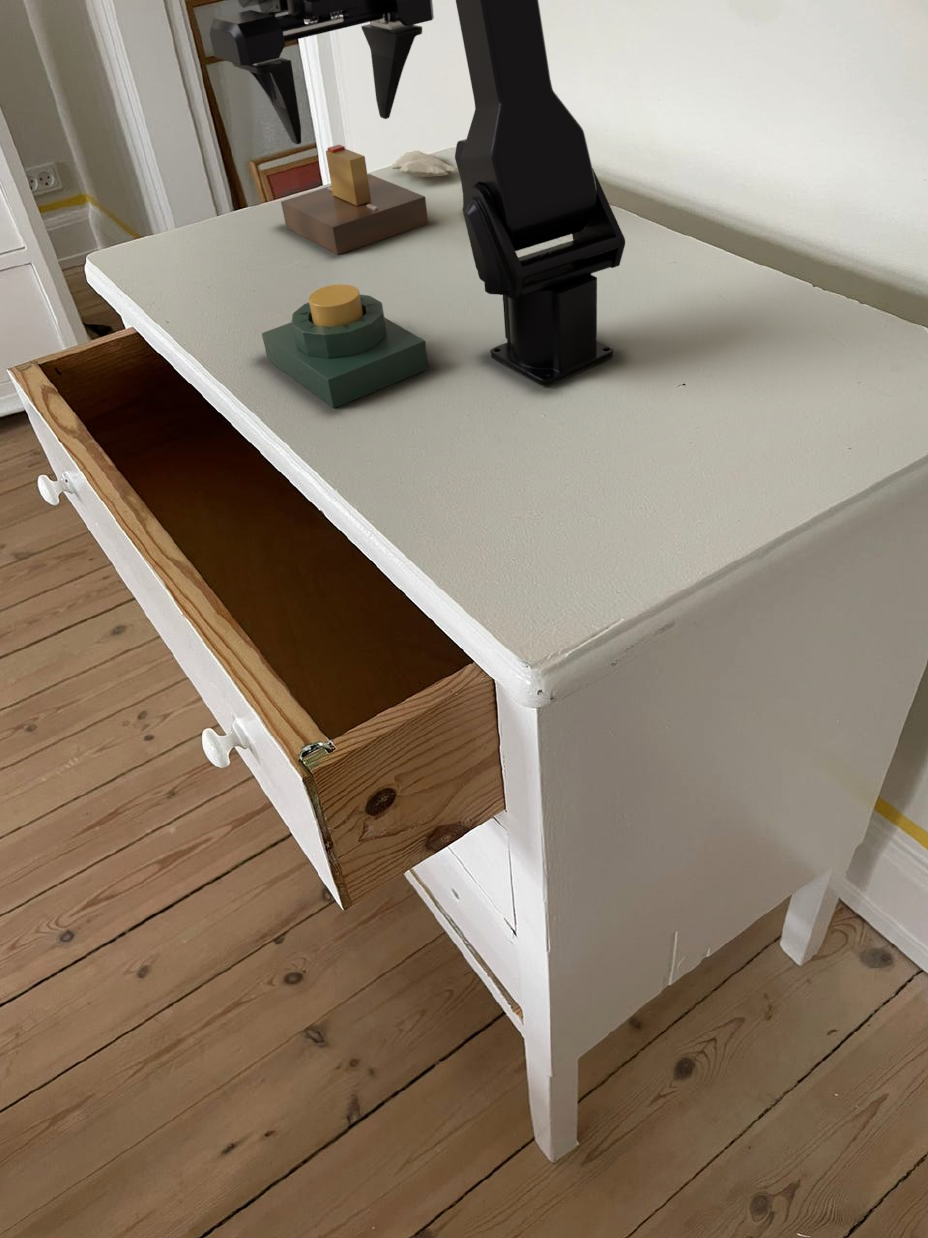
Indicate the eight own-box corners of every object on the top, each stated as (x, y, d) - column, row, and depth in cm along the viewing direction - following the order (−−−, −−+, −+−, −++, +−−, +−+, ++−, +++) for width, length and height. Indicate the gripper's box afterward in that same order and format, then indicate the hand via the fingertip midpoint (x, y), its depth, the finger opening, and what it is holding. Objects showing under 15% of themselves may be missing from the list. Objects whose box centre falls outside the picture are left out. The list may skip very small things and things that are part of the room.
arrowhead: (457, 190, 100) (448, 162, 108) (460, 171, 99) (451, 144, 106) (391, 182, 99) (387, 154, 106) (393, 162, 98) (388, 135, 105)
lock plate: (428, 223, 92) (425, 194, 90) (337, 254, 88) (332, 225, 86) (373, 199, 98) (369, 171, 96) (286, 227, 94) (280, 199, 92)
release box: (428, 368, 70) (422, 316, 67) (333, 408, 67) (323, 355, 64) (357, 325, 76) (349, 276, 74) (267, 360, 73) (255, 309, 71)
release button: (372, 317, 69) (368, 294, 68) (328, 334, 67) (324, 310, 66) (346, 302, 71) (342, 279, 70) (304, 318, 70) (299, 295, 69)
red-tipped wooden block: (371, 201, 90) (364, 152, 87) (356, 206, 90) (349, 157, 87) (347, 190, 93) (339, 143, 90) (332, 195, 92) (324, 147, 90)
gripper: (356, -103, 86) (381, 92, 96) (159, -68, 78) (210, 139, 89) (426, -100, 79) (445, 111, 89) (217, -60, 71) (264, 164, 82)
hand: (341, 130), depth 87 cm, fingers open, 9 cm apart
